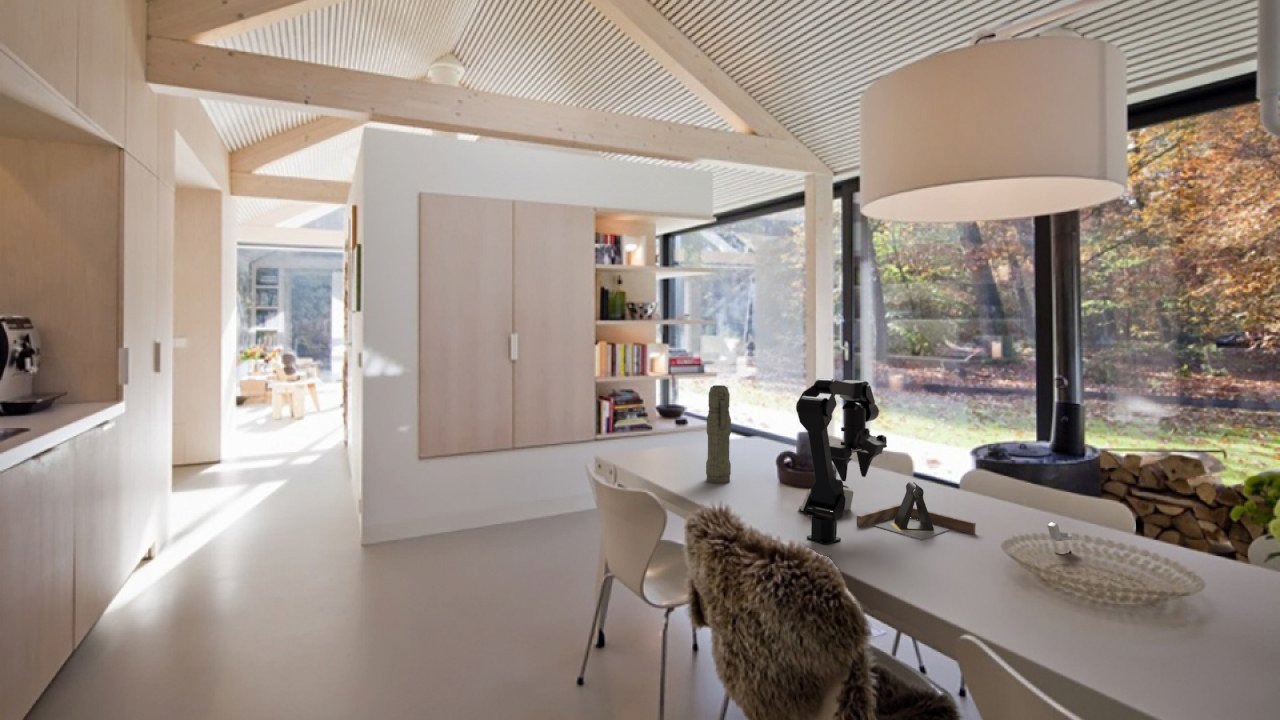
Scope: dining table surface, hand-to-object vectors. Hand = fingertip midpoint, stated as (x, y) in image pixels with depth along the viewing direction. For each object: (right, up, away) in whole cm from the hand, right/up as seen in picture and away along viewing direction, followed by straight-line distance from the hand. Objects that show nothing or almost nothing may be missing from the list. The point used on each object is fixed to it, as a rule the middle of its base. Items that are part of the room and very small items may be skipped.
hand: (853, 478), depth 177 cm
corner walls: (+15, -13, -4) cm, 21 cm away
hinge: (-4, -13, +13) cm, 19 cm away
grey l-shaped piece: (+43, -15, -23) cm, 51 cm away
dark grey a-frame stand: (+16, -13, -3) cm, 21 cm away
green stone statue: (-32, -11, +51) cm, 62 cm away
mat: (+15, -13, -3) cm, 20 cm away
